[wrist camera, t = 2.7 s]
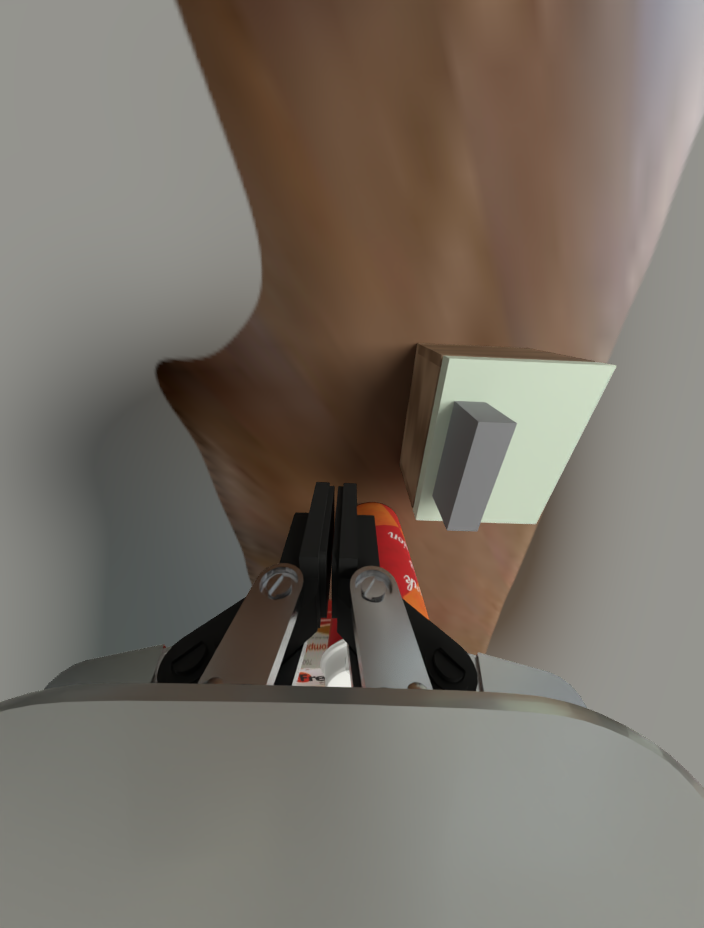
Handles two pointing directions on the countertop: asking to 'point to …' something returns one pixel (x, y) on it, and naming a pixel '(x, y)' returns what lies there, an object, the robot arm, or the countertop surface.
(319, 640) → the medicine box
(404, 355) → the countertop surface
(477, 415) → the lid
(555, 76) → the countertop surface
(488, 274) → the countertop surface
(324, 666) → the paper cup
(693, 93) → the countertop surface
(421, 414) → the keepsake box
